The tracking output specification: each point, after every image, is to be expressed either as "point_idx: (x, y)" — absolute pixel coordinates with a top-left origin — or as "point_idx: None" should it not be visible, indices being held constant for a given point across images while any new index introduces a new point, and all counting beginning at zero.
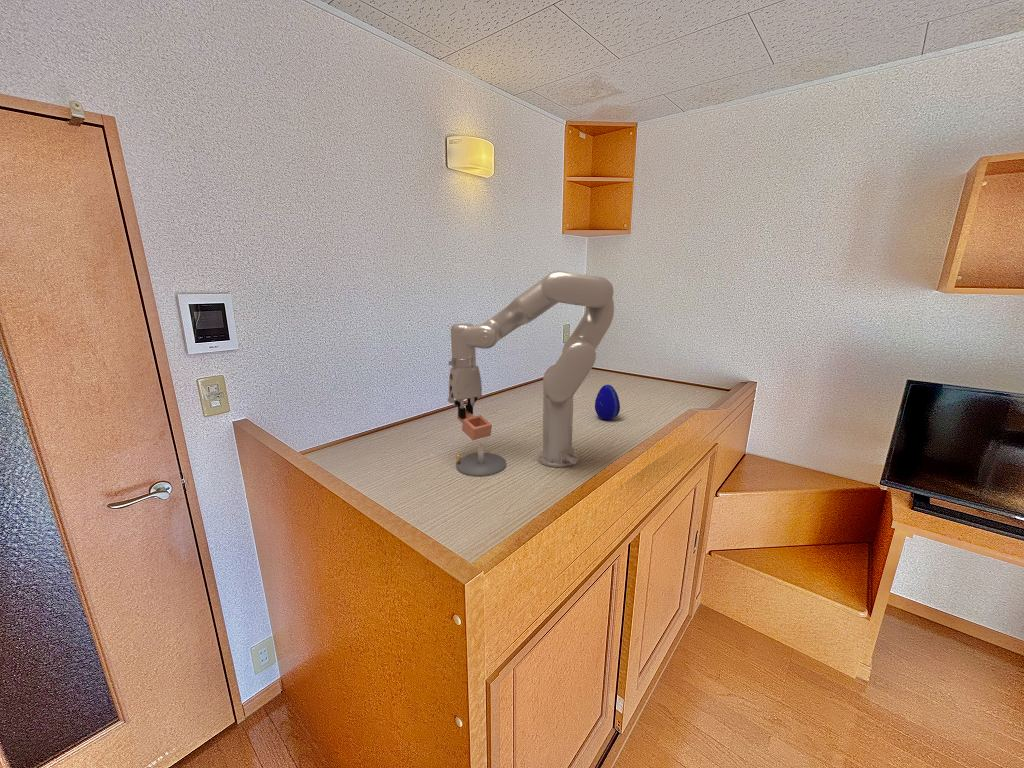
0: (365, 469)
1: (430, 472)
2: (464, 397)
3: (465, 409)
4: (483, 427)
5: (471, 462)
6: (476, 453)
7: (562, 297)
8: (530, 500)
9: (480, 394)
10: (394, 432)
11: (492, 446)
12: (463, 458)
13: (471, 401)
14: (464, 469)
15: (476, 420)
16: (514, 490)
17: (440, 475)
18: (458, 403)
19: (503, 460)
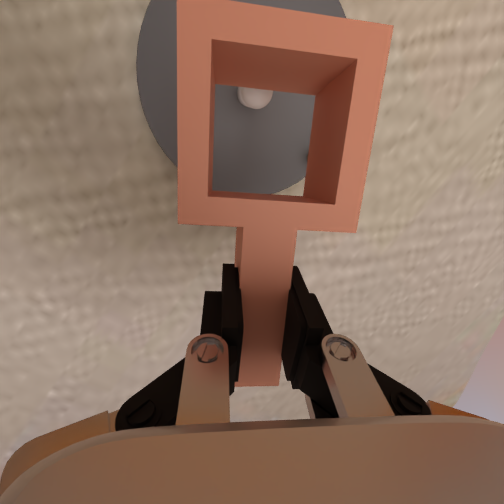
0: (466, 301)
1: (401, 178)
2: (428, 448)
3: (243, 349)
4: (285, 10)
5: (275, 127)
6: None
7: None
8: None
9: (52, 466)
10: (284, 419)
11: (110, 211)
12: (273, 180)
13: (225, 383)
14: None
15: (237, 196)
16: None
17: (402, 133)
18: (383, 392)
19: (152, 28)
